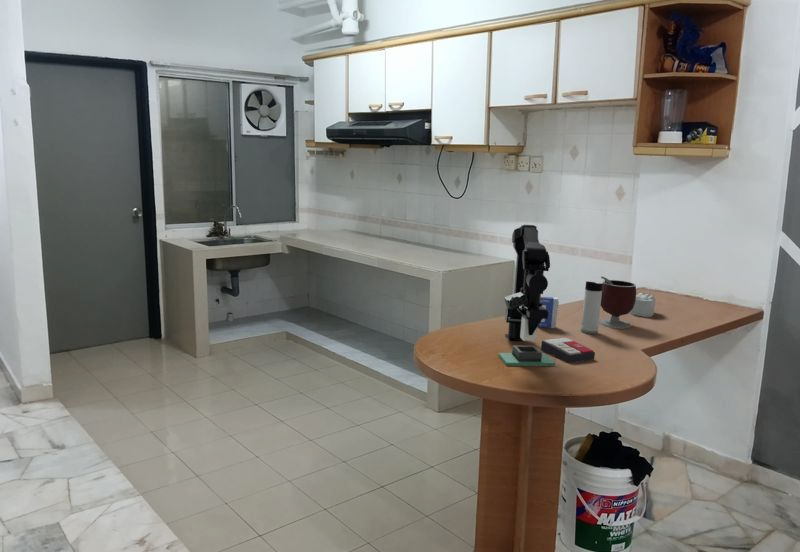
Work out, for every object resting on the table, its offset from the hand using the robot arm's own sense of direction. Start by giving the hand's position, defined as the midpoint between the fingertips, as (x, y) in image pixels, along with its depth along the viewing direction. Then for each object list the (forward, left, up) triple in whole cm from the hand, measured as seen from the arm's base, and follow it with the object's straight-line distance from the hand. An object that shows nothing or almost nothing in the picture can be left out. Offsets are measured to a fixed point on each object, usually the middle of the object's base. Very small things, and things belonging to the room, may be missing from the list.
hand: (528, 333), depth 215 cm
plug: (0, 0, -2) cm, 2 cm away
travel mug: (-36, +36, -10) cm, 52 cm away
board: (0, 0, -9) cm, 9 cm away
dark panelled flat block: (-7, +17, -10) cm, 21 cm away
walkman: (-43, +21, -10) cm, 49 cm away
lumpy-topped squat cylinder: (-68, +73, -10) cm, 100 cm away
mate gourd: (-48, +51, -10) cm, 71 cm away
